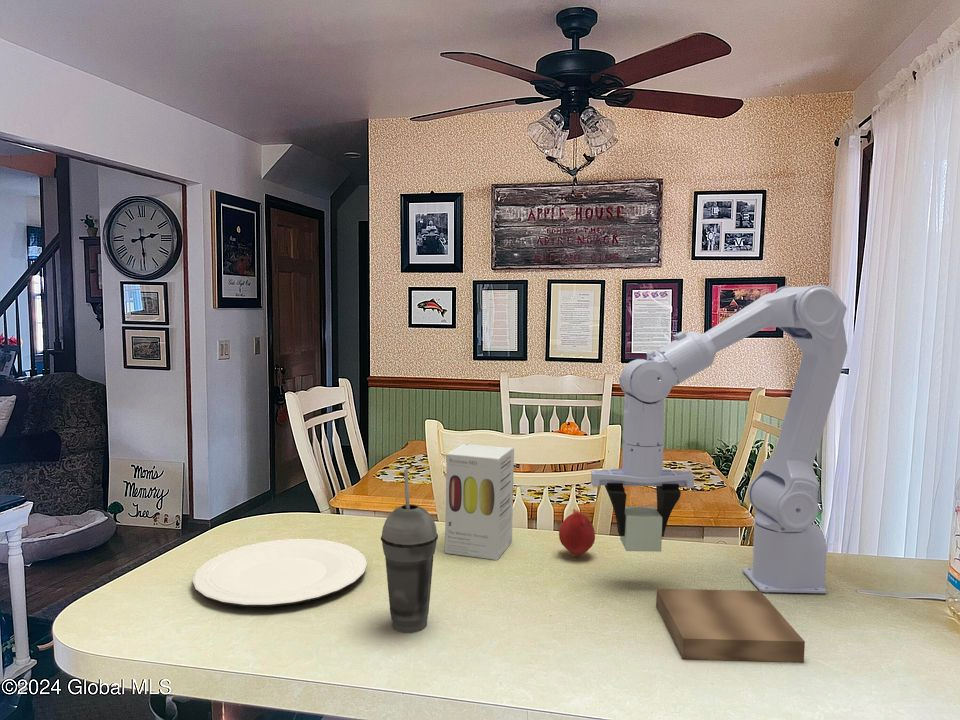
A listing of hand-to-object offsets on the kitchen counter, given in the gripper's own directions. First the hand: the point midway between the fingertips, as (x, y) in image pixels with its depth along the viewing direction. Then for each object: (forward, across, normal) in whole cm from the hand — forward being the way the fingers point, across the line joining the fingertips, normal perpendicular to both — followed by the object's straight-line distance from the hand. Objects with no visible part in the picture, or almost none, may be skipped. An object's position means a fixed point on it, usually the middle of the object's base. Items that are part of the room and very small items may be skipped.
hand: (640, 534), depth 101 cm
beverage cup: (+8, +32, +14) cm, 36 cm away
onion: (+8, +8, -11) cm, 16 cm away
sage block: (+2, 0, 0) cm, 2 cm away
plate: (+8, +53, 0) cm, 54 cm away
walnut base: (+8, -8, +14) cm, 18 cm away
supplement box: (+8, +24, -14) cm, 29 cm away
